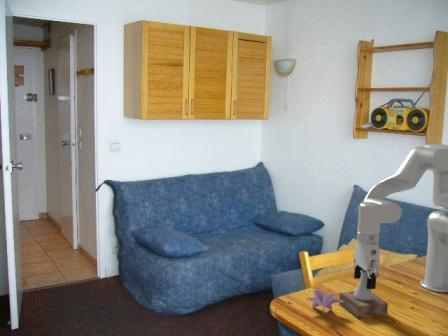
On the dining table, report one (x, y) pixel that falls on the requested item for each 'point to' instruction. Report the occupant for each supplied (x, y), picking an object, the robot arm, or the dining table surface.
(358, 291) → the flask
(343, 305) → the walnut block
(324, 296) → the lily
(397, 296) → the dining table surface
